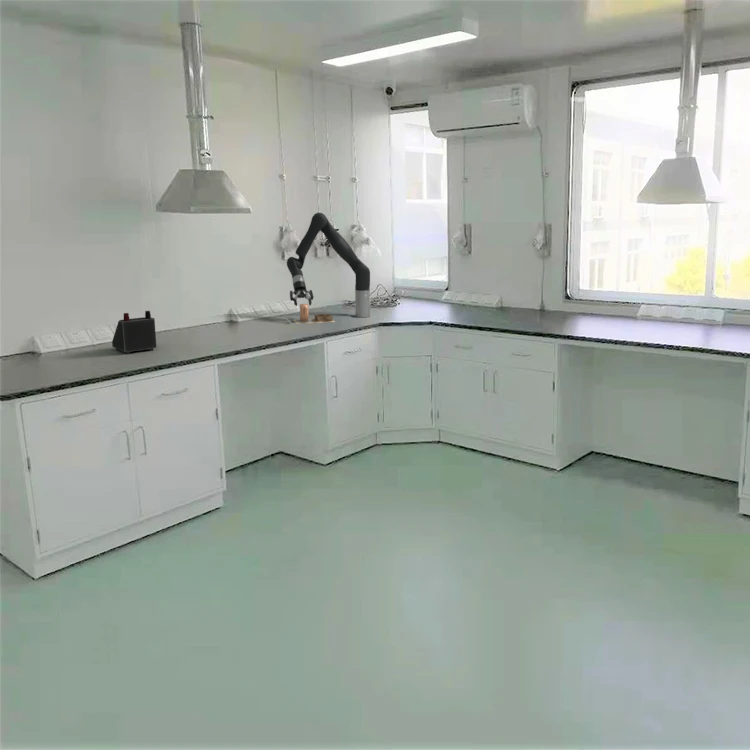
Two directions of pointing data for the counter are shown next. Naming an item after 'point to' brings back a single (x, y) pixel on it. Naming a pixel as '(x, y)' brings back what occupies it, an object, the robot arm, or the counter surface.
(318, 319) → the station board
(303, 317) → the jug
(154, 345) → the voltmeter
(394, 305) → the counter surface
